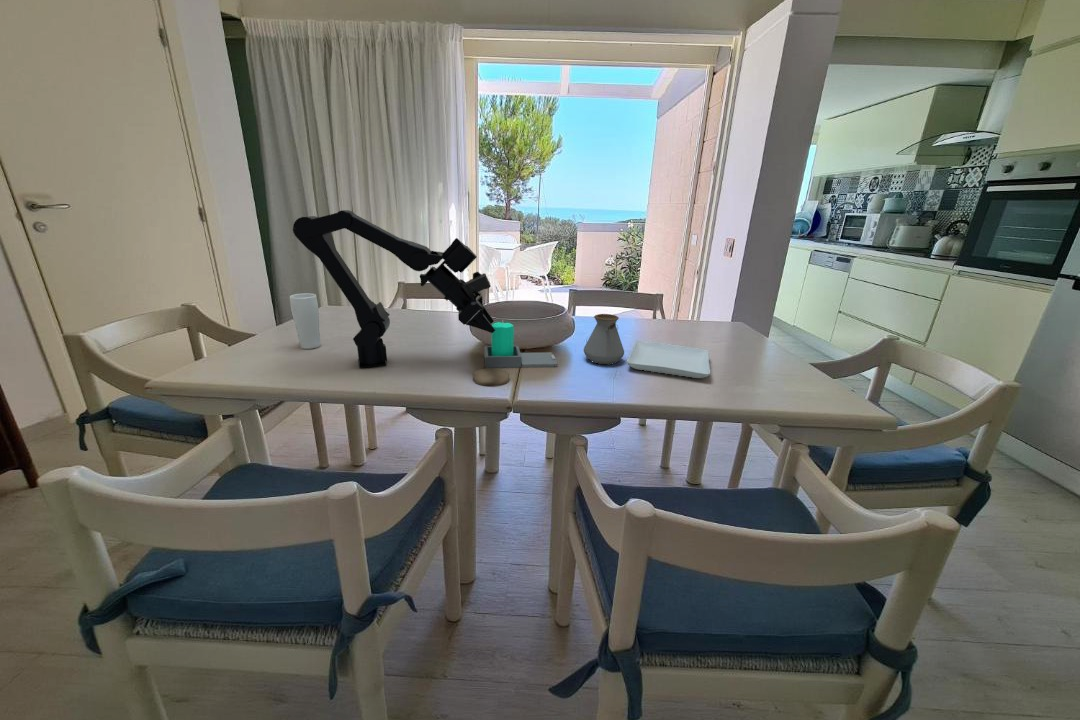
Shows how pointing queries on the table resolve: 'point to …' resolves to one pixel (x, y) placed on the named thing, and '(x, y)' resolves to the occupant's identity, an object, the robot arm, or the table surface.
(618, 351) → the coffee pot
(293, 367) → the table surface
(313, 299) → the drinking glass
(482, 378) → the coaster
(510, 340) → the candle
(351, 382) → the table surface
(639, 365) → the salad plate
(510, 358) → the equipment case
